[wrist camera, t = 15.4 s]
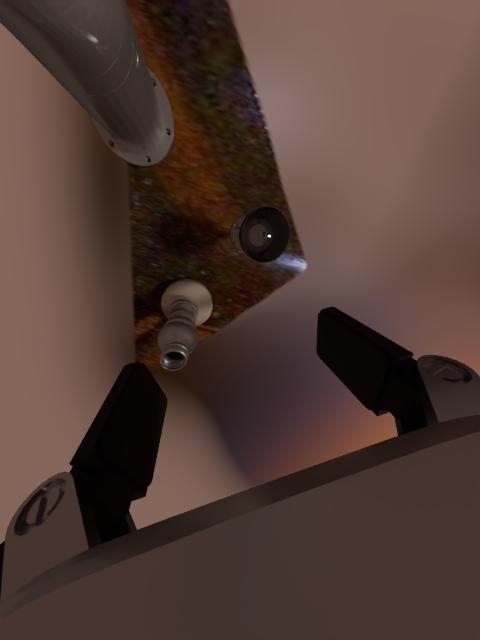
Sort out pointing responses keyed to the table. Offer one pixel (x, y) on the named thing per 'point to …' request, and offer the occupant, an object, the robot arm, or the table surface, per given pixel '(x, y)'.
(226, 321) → the table surface
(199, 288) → the pedestal
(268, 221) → the wine glass
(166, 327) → the plastic bottle
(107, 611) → the robot arm
